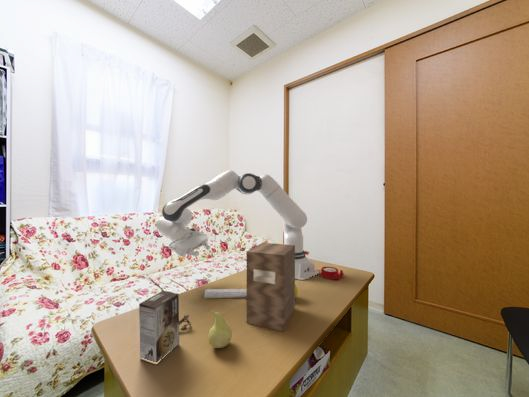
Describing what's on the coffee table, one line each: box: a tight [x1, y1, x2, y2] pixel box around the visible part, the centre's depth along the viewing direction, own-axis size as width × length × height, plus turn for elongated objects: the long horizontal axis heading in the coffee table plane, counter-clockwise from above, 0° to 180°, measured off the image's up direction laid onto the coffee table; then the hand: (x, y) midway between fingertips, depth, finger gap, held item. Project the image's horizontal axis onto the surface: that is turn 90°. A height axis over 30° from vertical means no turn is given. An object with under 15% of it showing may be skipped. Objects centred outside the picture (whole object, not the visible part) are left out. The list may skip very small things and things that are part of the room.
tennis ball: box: [295, 284, 299, 299], centre depth 98 cm, size 7×7×7 cm
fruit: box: [206, 308, 233, 349], centre depth 67 cm, size 7×8×12 cm
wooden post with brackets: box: [179, 314, 192, 330], centre depth 75 cm, size 2×8×4 cm, turn 127°
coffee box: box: [138, 290, 180, 362], centre depth 64 cm, size 9×6×16 cm
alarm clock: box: [316, 266, 347, 280], centre depth 125 cm, size 10×6×15 cm
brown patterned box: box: [246, 242, 296, 332], centre depth 84 cm, size 14×17×26 cm
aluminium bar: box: [204, 288, 247, 299], centre depth 100 cm, size 22×3×3 cm, turn 91°
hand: (203, 251), depth 109 cm, fingers open, 8 cm apart
